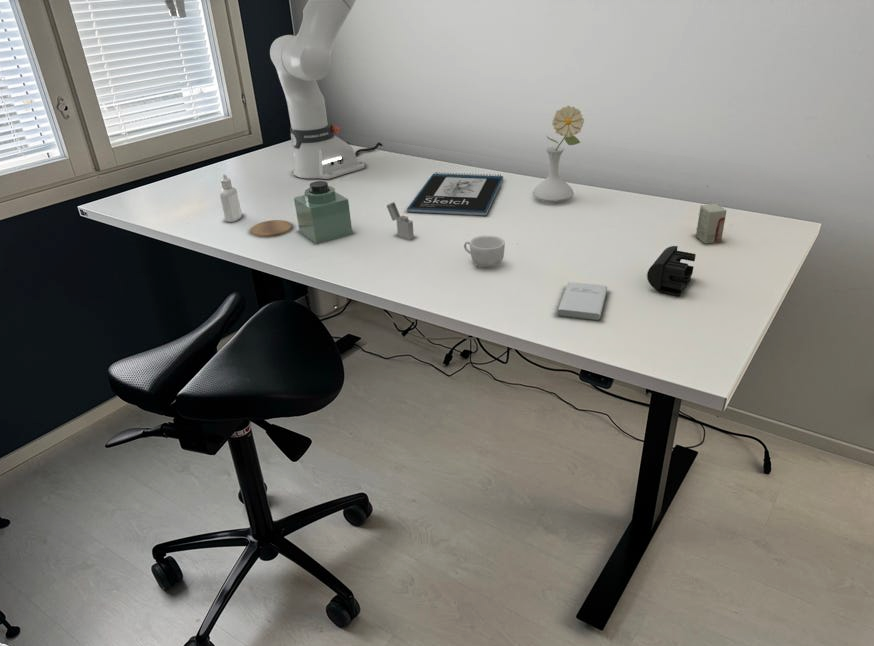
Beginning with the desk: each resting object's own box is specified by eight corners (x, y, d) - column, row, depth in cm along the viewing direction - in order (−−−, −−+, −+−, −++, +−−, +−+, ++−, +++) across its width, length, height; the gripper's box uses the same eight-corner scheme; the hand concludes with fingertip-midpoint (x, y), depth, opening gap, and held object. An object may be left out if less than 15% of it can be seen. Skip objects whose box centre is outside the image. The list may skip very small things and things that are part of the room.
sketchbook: (407, 213, 182) (407, 205, 181) (434, 177, 207) (433, 171, 206) (486, 216, 178) (486, 208, 177) (503, 180, 203) (503, 173, 202)
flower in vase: (526, 203, 185) (529, 108, 172) (538, 190, 194) (542, 99, 180) (573, 208, 181) (579, 111, 167) (583, 194, 190) (590, 101, 176)
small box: (721, 242, 160) (727, 210, 155) (704, 244, 159) (710, 212, 155) (711, 234, 164) (717, 203, 159) (694, 236, 163) (700, 204, 159)
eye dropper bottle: (247, 217, 182) (238, 173, 176) (229, 223, 179) (219, 178, 172) (238, 213, 185) (228, 170, 178) (220, 220, 181) (210, 175, 175)
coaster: (282, 219, 180) (282, 217, 180) (297, 230, 173) (297, 228, 173) (246, 228, 175) (245, 226, 175) (260, 240, 169) (260, 237, 168)
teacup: (510, 261, 154) (511, 239, 151) (494, 274, 148) (493, 251, 146) (473, 252, 158) (472, 231, 156) (455, 265, 153) (454, 243, 150)
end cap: (659, 272, 147) (663, 243, 144) (692, 278, 144) (697, 249, 140) (644, 290, 140) (648, 260, 136) (678, 298, 137) (683, 267, 133)
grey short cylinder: (324, 187, 168) (322, 179, 167) (331, 192, 165) (330, 184, 164) (307, 191, 166) (306, 183, 165) (315, 196, 163) (314, 188, 162)
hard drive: (557, 316, 132) (567, 288, 142) (599, 321, 130) (606, 292, 140) (557, 308, 131) (567, 281, 141) (600, 313, 129) (607, 285, 139)
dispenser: (334, 222, 177) (329, 181, 171) (352, 233, 170) (347, 191, 164) (299, 231, 173) (292, 189, 167) (316, 243, 166) (309, 200, 160)
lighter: (414, 237, 167) (412, 206, 163) (409, 239, 166) (407, 208, 162) (393, 231, 171) (390, 200, 167) (388, 233, 170) (385, 202, 166)
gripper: (184, -49, 159) (200, 16, 167) (165, -46, 174) (181, 14, 182) (156, -47, 157) (174, 19, 164) (140, -44, 172) (157, 16, 179)
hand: (178, 16), depth 173 cm, fingers open, 8 cm apart
